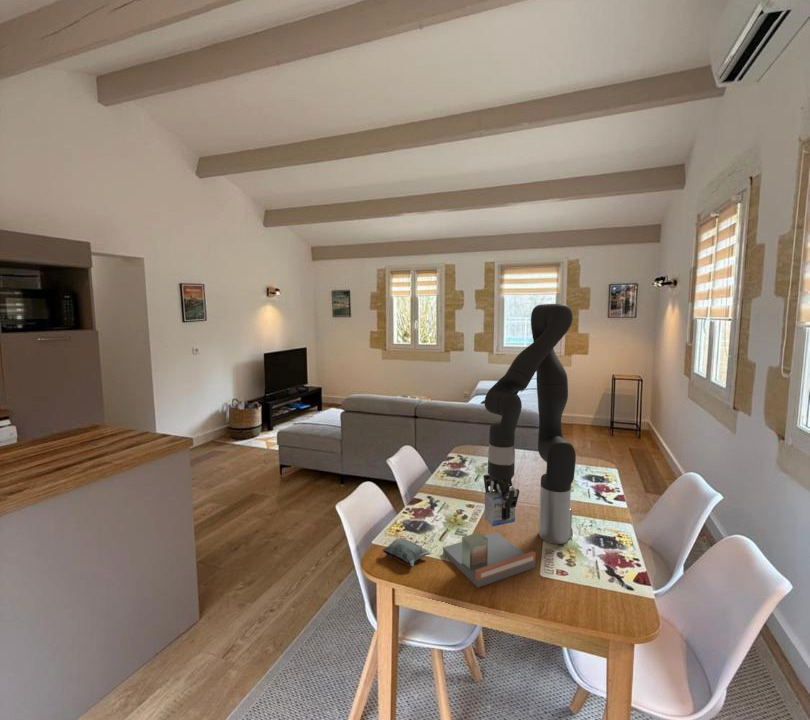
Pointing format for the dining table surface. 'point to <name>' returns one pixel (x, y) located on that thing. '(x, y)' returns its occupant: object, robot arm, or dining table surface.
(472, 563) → the sage tin
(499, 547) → the shelf
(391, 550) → the grey bean bag
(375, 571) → the dining table surface
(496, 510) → the medicine box
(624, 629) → the dining table surface
